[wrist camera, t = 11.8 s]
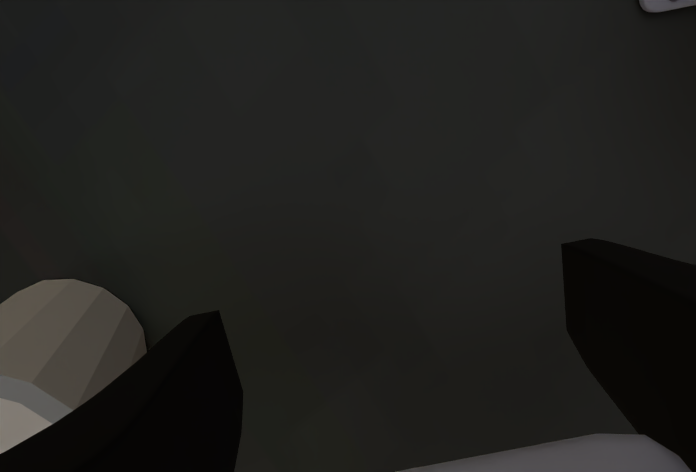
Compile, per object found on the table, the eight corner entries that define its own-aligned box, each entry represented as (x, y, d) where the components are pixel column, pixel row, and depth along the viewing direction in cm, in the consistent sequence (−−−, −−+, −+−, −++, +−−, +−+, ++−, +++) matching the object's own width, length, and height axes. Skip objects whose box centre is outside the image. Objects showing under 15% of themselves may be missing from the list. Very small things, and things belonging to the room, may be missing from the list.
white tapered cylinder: (-54, 286, 22) (-205, 403, 16) (127, 244, 22) (50, 345, 16) (23, 434, 25) (-80, 588, 18) (186, 398, 25) (141, 540, 18)
